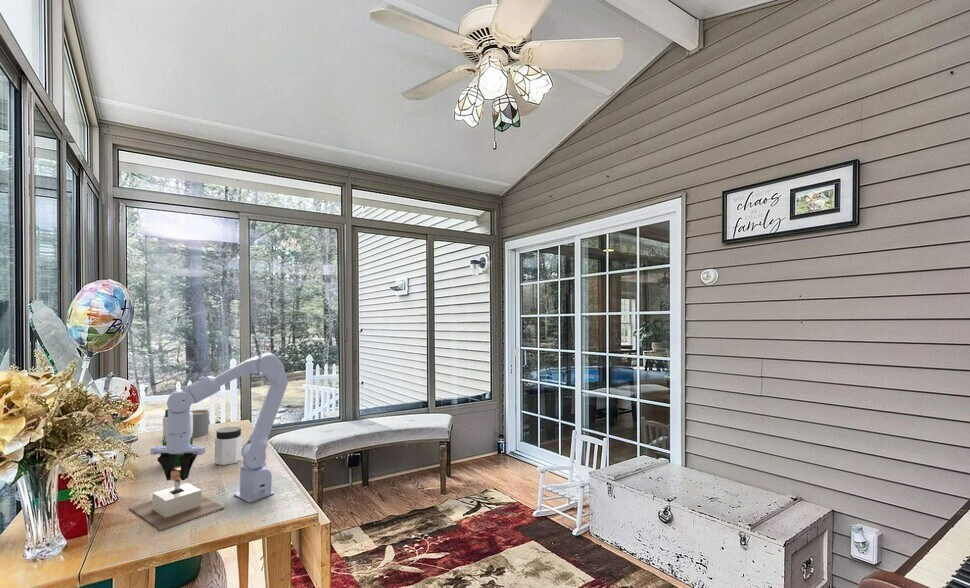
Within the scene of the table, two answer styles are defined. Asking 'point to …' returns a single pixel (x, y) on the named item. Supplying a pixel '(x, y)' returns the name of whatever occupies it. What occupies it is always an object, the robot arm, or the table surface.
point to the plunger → (176, 478)
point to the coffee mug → (200, 422)
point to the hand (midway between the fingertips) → (177, 479)
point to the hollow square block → (176, 500)
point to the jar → (228, 445)
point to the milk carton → (166, 434)
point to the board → (177, 519)
